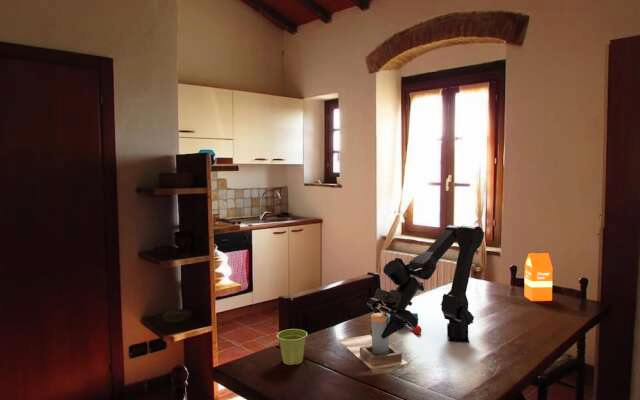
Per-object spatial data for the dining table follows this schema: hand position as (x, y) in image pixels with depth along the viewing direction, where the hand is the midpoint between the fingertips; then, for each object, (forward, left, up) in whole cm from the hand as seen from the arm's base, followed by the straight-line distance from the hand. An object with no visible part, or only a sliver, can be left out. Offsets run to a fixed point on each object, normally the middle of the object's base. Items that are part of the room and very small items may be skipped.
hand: (376, 335), depth 146 cm
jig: (+3, -6, -8) cm, 11 cm away
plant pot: (+25, +5, -9) cm, 27 cm away
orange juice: (-60, -82, -9) cm, 102 cm away
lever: (-5, -33, -9) cm, 35 cm away
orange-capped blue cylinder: (-1, -1, -6) cm, 6 cm away
